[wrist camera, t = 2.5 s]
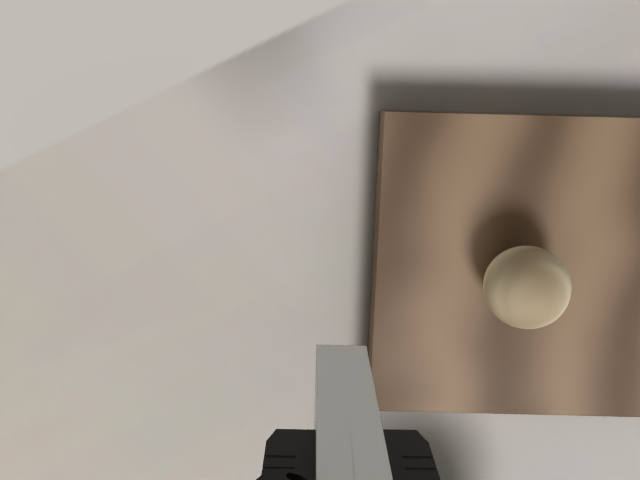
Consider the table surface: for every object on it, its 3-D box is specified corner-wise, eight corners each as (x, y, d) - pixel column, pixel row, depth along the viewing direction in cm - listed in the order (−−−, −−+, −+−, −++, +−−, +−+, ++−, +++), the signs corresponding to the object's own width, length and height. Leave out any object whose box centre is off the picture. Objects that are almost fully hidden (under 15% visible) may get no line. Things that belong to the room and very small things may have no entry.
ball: (556, 237, 29) (592, 259, 25) (546, 312, 30) (580, 344, 26) (477, 235, 29) (501, 257, 25) (470, 309, 30) (492, 342, 26)
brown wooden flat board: (837, 122, 30) (883, 124, 27) (771, 397, 34) (805, 421, 31) (379, 110, 30) (384, 111, 27) (366, 387, 34) (369, 410, 31)
